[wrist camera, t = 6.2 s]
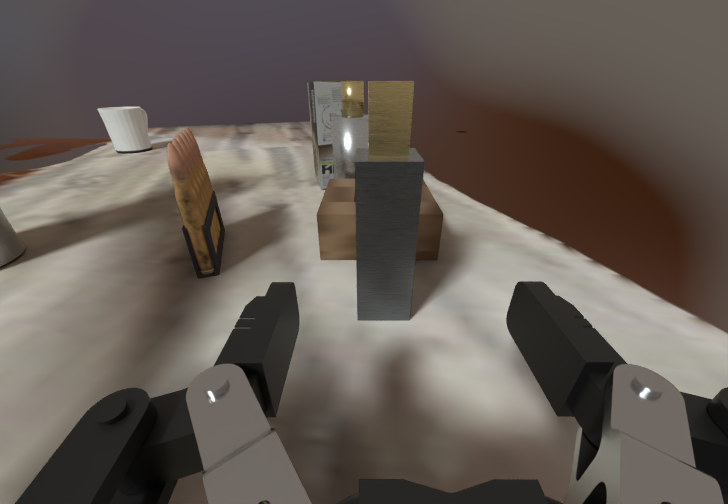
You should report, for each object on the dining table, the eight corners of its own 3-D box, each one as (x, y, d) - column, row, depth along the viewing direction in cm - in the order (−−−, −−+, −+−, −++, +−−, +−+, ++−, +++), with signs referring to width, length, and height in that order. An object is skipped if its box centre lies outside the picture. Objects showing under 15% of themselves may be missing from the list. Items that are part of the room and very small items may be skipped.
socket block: (320, 259, 31) (316, 214, 29) (331, 214, 41) (329, 178, 39) (437, 259, 31) (443, 214, 28) (419, 214, 41) (422, 178, 39)
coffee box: (357, 187, 52) (356, 80, 44) (320, 190, 51) (312, 80, 43) (347, 173, 60) (344, 80, 52) (314, 175, 58) (306, 80, 50)
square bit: (357, 320, 23) (353, 81, 15) (358, 289, 27) (355, 81, 19) (409, 320, 23) (432, 81, 15) (403, 289, 27) (419, 81, 19)
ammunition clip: (208, 231, 37) (178, 127, 31) (224, 229, 37) (198, 126, 32) (197, 279, 28) (152, 145, 22) (219, 275, 29) (180, 143, 23)
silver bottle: (334, 211, 42) (326, 81, 35) (337, 198, 47) (331, 81, 39) (373, 211, 42) (375, 80, 35) (372, 197, 47) (374, 81, 39)
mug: (131, 154, 76) (114, 109, 71) (106, 152, 78) (88, 109, 73) (168, 146, 85) (155, 106, 80) (145, 145, 87) (131, 105, 82)
